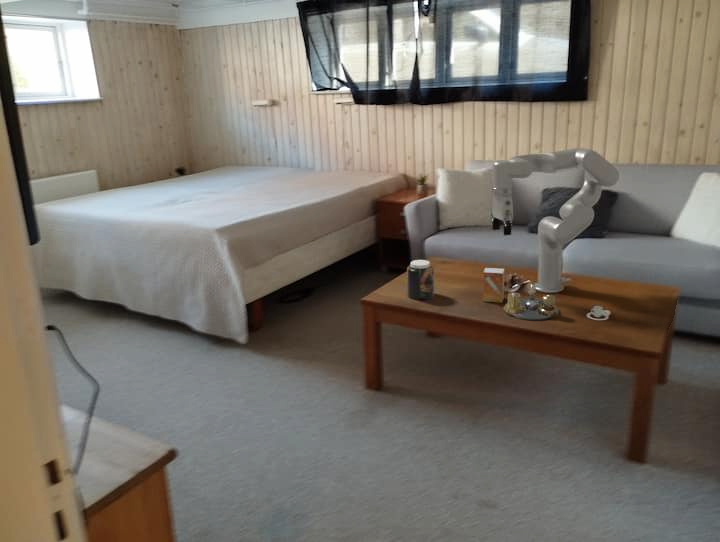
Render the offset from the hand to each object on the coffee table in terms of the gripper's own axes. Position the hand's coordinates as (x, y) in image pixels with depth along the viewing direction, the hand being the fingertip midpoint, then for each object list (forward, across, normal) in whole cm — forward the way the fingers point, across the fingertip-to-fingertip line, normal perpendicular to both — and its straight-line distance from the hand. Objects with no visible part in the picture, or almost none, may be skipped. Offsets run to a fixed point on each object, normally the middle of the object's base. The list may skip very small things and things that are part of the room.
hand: (501, 232), depth 249 cm
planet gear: (+26, -21, +6) cm, 34 cm away
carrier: (+27, -22, -2) cm, 35 cm away
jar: (+27, +11, +32) cm, 44 cm away
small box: (+28, -5, +6) cm, 29 cm away
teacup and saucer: (+28, -39, -23) cm, 53 cm away
